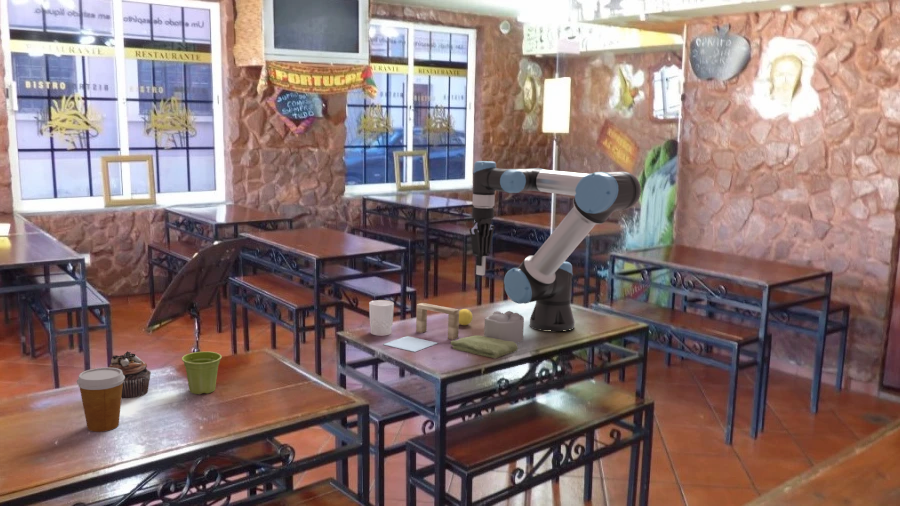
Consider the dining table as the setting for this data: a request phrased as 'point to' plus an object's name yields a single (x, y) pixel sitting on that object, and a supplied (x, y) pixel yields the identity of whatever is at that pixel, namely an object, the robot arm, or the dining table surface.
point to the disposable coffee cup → (101, 397)
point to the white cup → (381, 317)
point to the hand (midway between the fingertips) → (480, 274)
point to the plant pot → (201, 371)
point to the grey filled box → (504, 326)
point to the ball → (465, 317)
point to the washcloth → (484, 346)
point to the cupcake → (132, 375)
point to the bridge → (452, 317)
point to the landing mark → (410, 344)
